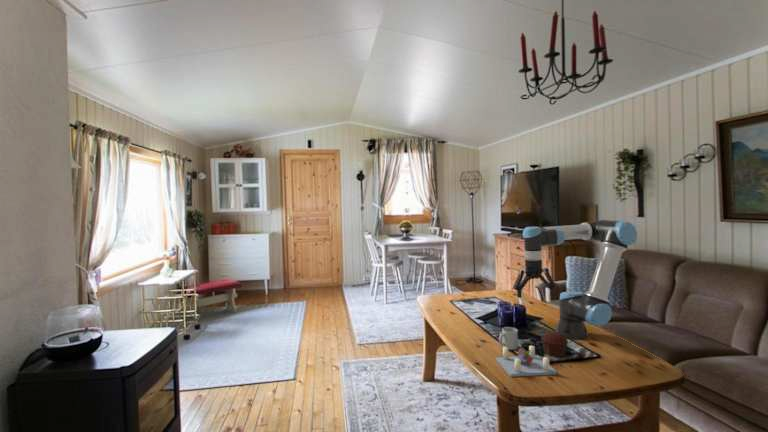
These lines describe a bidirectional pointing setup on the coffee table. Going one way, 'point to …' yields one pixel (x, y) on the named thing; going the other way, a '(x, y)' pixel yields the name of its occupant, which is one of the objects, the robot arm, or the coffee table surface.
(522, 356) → the geometric puzzle
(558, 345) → the muffin
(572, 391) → the coffee table surface
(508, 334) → the cup
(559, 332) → the robot arm
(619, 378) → the coffee table surface
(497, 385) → the coffee table surface
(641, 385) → the coffee table surface
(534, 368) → the peg board
